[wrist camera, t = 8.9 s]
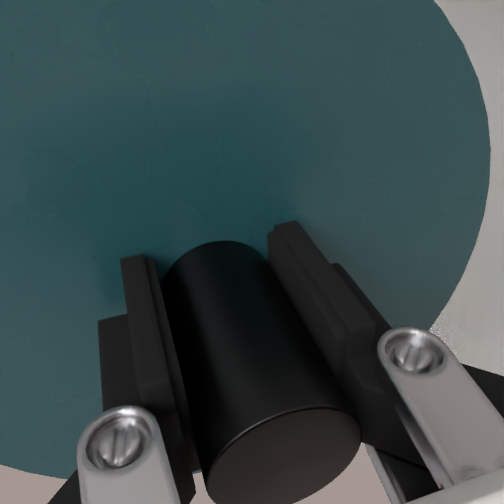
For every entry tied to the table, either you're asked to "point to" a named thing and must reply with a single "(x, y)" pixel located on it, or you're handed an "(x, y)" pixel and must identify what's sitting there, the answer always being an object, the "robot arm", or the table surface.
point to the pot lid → (224, 209)
